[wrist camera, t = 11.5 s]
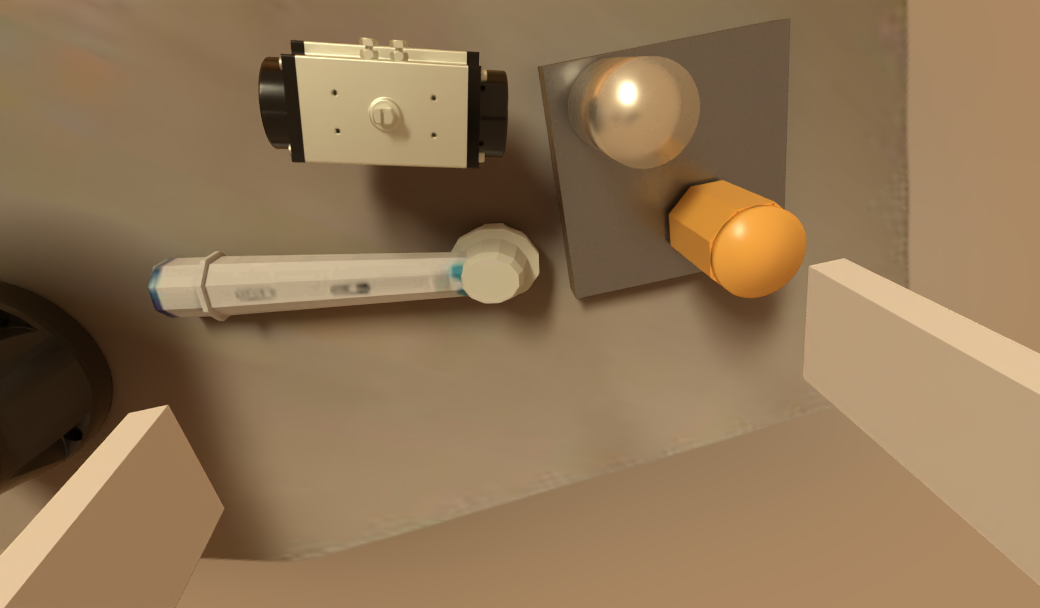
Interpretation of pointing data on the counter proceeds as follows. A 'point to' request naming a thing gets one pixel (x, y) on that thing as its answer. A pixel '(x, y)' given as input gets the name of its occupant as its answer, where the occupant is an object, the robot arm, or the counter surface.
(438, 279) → the white handheld device
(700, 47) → the grey slab with post
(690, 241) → the orange acorn nut
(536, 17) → the counter surface
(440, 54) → the pneumatic valve
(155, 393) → the counter surface
